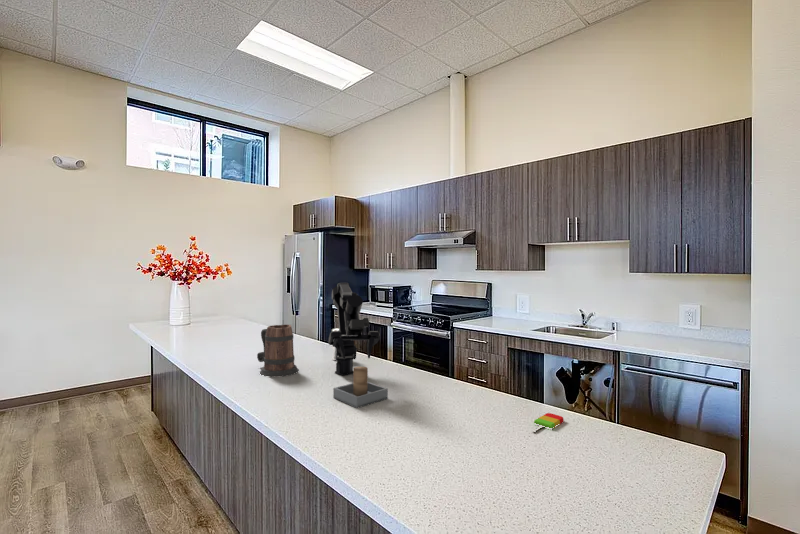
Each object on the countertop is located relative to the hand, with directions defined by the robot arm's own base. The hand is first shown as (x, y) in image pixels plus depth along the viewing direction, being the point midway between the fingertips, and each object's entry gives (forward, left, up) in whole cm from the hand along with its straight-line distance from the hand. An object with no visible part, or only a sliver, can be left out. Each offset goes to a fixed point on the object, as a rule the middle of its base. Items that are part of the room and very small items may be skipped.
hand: (357, 358), depth 146 cm
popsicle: (-24, +60, -14) cm, 66 cm away
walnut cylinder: (+2, +4, -13) cm, 13 cm away
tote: (+2, +4, -13) cm, 14 cm away
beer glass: (-25, -48, -13) cm, 56 cm away
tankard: (+7, -51, -13) cm, 53 cm away
